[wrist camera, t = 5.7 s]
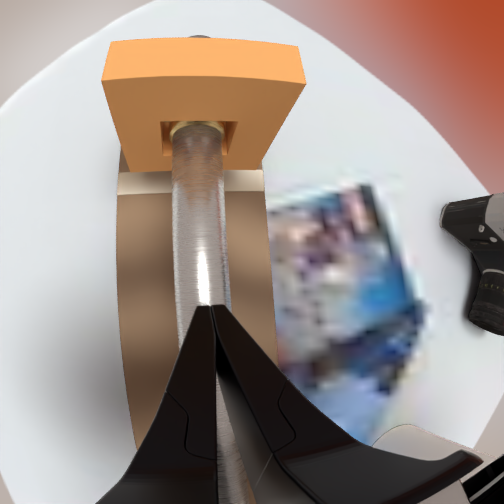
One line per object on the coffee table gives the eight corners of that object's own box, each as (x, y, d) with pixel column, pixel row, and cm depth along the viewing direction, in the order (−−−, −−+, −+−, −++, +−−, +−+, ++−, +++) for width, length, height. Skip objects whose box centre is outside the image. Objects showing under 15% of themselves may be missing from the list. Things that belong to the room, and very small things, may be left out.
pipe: (249, 506, 12) (260, 533, 10) (200, 511, 12) (204, 540, 9) (218, 63, 16) (224, 34, 14) (174, 63, 15) (175, 33, 13)
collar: (256, 170, 18) (306, 83, 10) (130, 172, 16) (101, 80, 8) (253, 139, 18) (297, 46, 10) (132, 140, 17) (110, 41, 9)
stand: (279, 449, 20) (326, 509, 12) (142, 462, 18) (128, 532, 10) (254, 121, 24) (286, 50, 16) (125, 123, 22) (109, 47, 13)
